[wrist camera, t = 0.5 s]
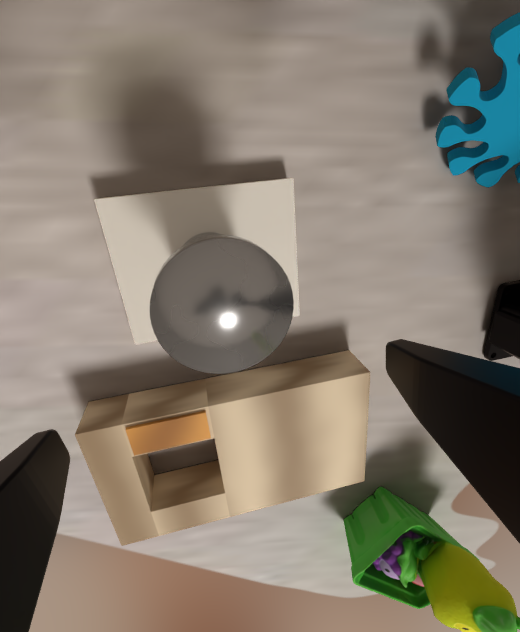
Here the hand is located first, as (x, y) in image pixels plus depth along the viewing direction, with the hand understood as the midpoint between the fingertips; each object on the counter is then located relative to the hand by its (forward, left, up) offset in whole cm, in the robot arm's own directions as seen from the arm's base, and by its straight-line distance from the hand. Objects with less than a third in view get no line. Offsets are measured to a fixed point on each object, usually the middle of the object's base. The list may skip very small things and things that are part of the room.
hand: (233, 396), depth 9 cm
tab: (0, -1, -12) cm, 12 cm away
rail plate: (0, +12, -12) cm, 17 cm away
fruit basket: (-14, +27, -12) cm, 33 cm away
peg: (0, -1, -11) cm, 11 cm away
